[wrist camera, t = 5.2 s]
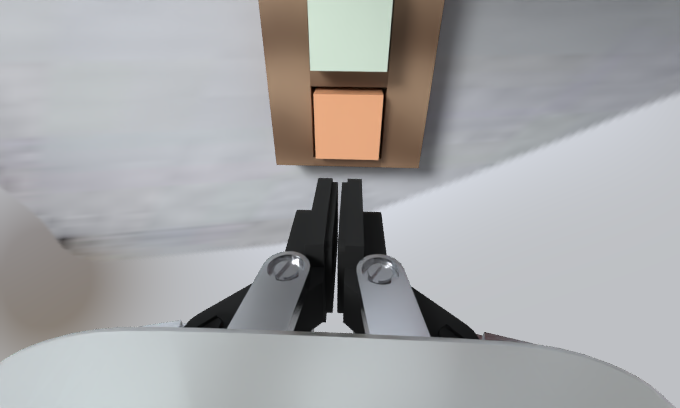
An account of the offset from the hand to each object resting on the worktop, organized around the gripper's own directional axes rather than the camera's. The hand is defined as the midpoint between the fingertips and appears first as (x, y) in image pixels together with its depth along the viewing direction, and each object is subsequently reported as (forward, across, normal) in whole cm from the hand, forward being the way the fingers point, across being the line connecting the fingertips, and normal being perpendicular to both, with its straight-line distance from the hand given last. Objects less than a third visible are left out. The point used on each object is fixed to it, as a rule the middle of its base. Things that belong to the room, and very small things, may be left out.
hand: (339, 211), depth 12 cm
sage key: (+13, 0, -6) cm, 14 cm away
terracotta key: (+14, 0, 0) cm, 14 cm away
